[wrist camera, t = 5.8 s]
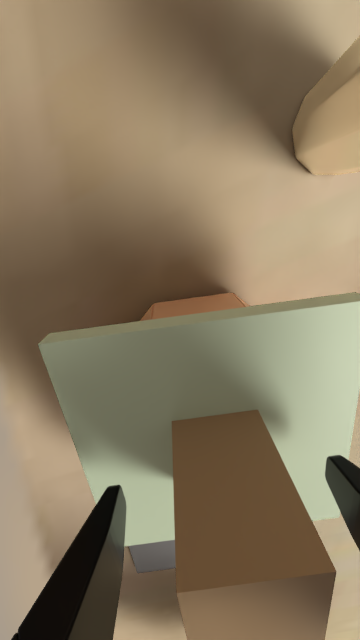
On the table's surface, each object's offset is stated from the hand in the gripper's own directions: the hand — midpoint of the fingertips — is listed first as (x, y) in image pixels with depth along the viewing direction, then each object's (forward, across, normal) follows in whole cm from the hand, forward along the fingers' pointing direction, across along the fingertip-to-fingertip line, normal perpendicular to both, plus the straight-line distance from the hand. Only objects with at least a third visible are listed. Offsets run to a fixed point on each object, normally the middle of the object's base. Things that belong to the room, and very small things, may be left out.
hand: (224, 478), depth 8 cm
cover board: (+2, 0, 0) cm, 2 cm away
